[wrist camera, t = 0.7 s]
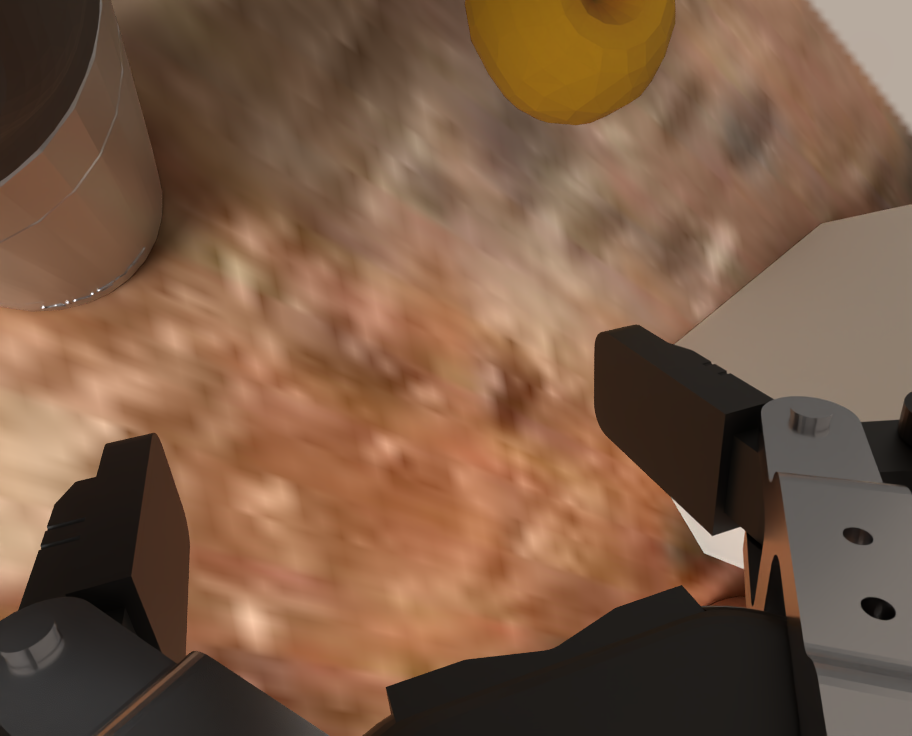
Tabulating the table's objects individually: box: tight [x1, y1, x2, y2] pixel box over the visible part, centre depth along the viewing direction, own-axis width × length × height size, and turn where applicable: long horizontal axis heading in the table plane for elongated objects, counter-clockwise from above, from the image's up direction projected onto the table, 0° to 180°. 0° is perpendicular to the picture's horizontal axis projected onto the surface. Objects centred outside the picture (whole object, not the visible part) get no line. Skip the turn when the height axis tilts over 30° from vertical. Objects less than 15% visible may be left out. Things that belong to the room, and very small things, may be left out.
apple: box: [465, 0, 675, 125], centre depth 29 cm, size 9×9×9 cm
